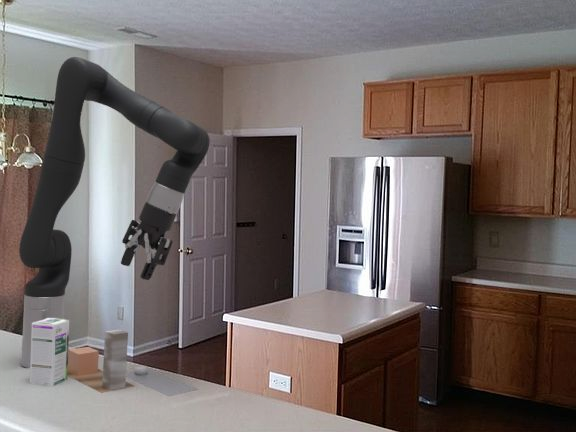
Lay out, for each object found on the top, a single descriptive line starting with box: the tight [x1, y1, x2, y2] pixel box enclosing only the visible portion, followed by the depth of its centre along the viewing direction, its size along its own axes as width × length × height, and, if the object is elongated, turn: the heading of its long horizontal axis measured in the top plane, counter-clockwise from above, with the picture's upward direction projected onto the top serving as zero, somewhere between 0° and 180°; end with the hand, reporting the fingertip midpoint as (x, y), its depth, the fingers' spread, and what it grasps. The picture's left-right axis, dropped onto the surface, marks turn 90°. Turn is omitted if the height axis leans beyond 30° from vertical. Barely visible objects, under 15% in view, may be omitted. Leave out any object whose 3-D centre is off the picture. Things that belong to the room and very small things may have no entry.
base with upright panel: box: [68, 329, 135, 394], centre depth 133 cm, size 20×8×13 cm, turn 46°
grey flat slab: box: [126, 365, 199, 397], centre depth 134 cm, size 20×8×2 cm, turn 46°
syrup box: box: [29, 318, 70, 387], centre depth 130 cm, size 6×6×14 cm
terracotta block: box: [68, 346, 100, 376], centre depth 138 cm, size 5×5×5 cm
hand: (134, 271), depth 134 cm, fingers open, 8 cm apart
